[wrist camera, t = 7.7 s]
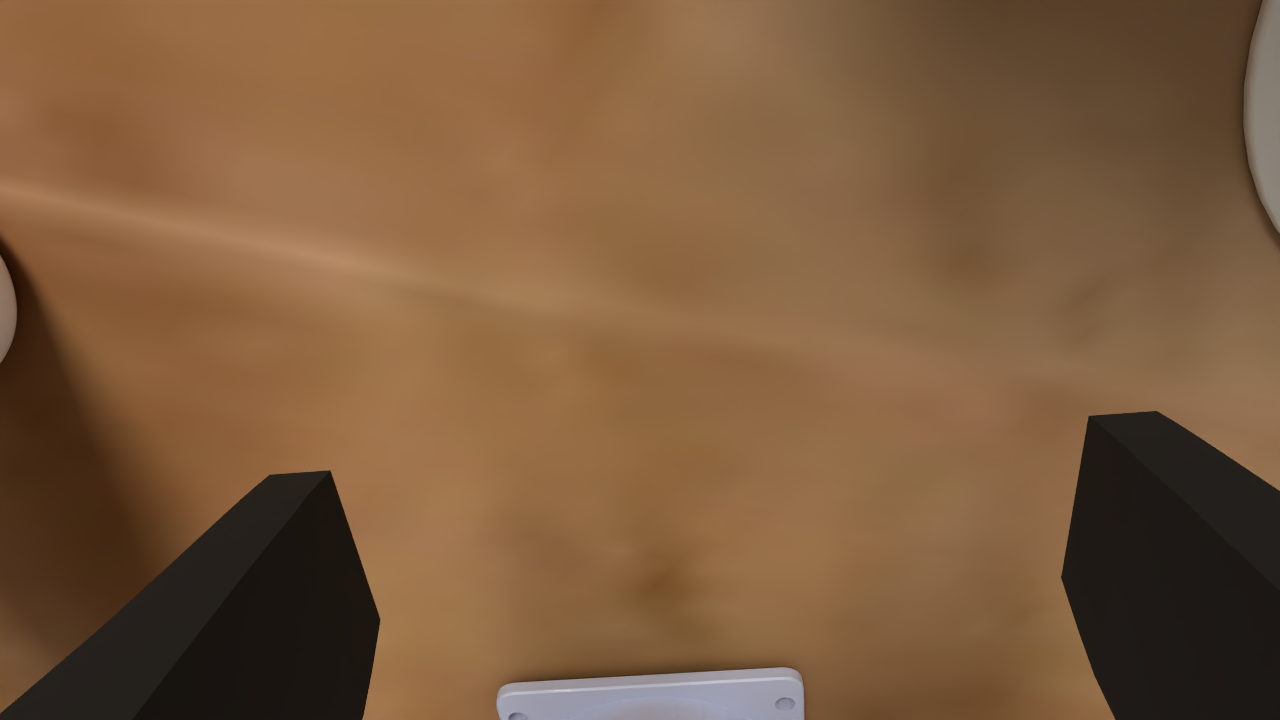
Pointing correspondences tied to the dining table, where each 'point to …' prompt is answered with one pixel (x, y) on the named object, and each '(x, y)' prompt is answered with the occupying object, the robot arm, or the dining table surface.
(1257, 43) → the mat
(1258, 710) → the robot arm
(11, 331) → the drinking glass
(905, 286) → the dining table surface
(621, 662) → the dining table surface
